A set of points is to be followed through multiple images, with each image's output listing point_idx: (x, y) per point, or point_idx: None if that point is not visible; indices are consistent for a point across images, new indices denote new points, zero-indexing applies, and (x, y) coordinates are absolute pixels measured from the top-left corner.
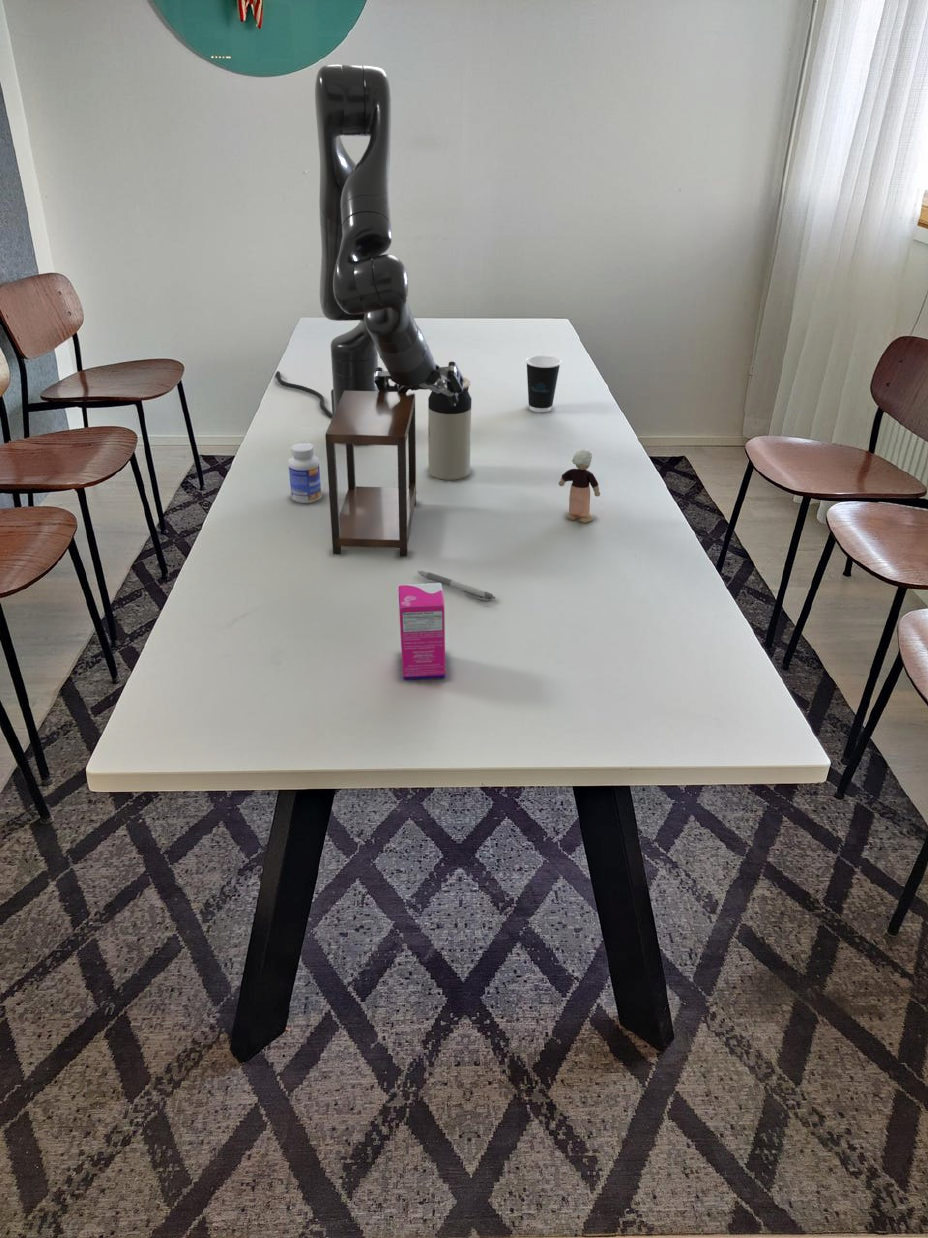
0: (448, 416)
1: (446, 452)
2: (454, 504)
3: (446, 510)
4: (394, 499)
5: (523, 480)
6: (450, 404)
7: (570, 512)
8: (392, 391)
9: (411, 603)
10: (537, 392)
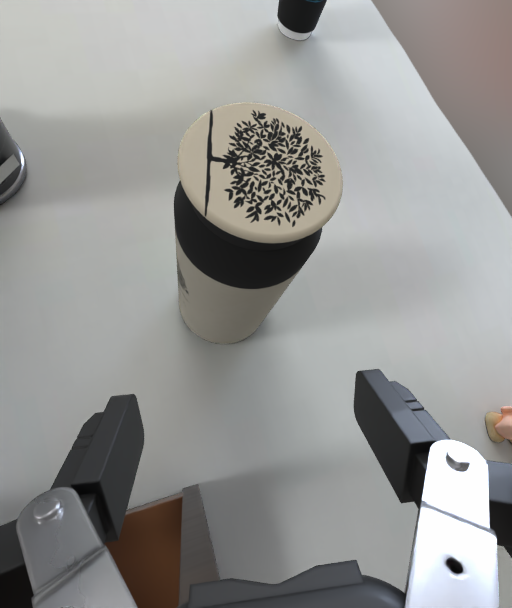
0: (262, 292)
1: (238, 327)
2: (280, 454)
3: (273, 493)
4: (162, 593)
5: (364, 299)
6: (364, 433)
7: (502, 435)
8: (27, 599)
9: None
10: (305, 2)
